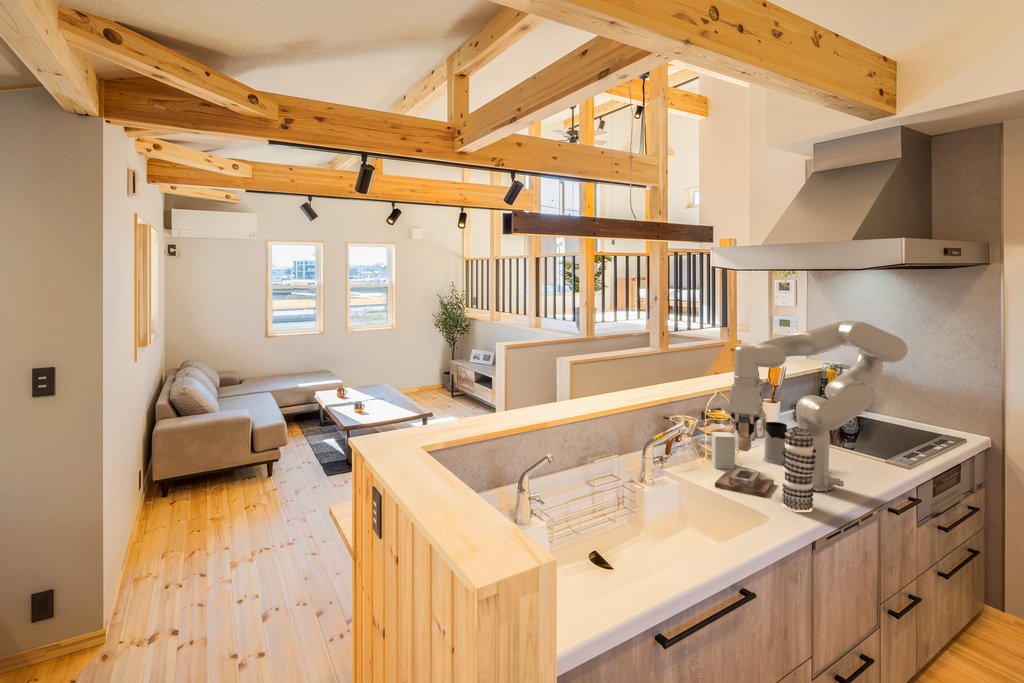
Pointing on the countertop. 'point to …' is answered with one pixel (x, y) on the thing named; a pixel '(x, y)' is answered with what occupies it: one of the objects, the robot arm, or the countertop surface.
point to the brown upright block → (744, 434)
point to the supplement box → (723, 450)
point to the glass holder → (774, 442)
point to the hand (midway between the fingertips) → (744, 432)
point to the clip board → (745, 482)
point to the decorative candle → (798, 469)
